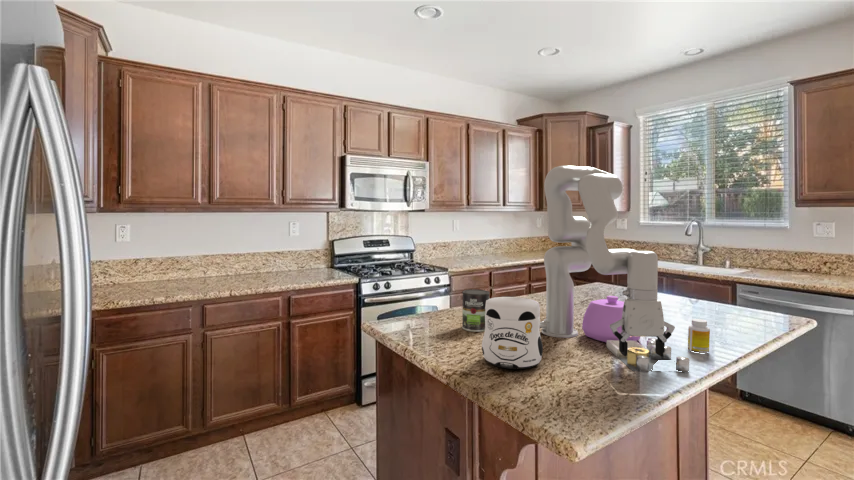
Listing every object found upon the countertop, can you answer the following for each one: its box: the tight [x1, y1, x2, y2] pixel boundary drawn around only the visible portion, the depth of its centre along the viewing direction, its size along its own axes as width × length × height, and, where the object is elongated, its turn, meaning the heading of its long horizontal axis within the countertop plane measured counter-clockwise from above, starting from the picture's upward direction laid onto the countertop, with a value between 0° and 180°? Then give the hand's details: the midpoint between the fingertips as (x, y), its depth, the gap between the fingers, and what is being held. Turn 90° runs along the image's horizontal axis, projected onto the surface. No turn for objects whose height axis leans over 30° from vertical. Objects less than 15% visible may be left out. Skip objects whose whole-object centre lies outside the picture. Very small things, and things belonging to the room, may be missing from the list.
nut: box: [627, 347, 649, 367], centre depth 117 cm, size 6×5×4 cm
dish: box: [606, 340, 648, 358], centre depth 127 cm, size 9×9×2 cm
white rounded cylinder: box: [481, 296, 544, 370], centre depth 119 cm, size 17×17×18 cm
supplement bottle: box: [687, 318, 711, 353], centre depth 127 cm, size 6×6×10 cm
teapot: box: [581, 295, 641, 343], centre depth 141 cm, size 23×21×15 cm
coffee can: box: [461, 289, 491, 333], centre depth 155 cm, size 10×10×14 cm
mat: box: [614, 354, 658, 373], centre depth 121 cm, size 15×20×1 cm
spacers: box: [636, 337, 690, 373], centre depth 120 cm, size 14×20×4 cm
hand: (641, 354), depth 116 cm, fingers open, 9 cm apart
